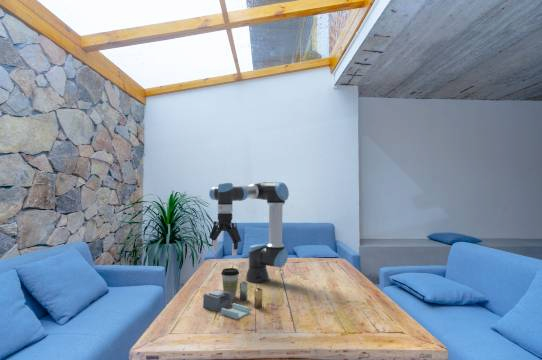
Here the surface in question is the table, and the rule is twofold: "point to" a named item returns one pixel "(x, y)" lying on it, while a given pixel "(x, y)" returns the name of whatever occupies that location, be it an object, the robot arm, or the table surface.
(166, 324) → the table surface
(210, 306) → the cradle
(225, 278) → the coffee cup
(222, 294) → the plate
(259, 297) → the cell
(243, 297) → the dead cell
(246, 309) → the trough
